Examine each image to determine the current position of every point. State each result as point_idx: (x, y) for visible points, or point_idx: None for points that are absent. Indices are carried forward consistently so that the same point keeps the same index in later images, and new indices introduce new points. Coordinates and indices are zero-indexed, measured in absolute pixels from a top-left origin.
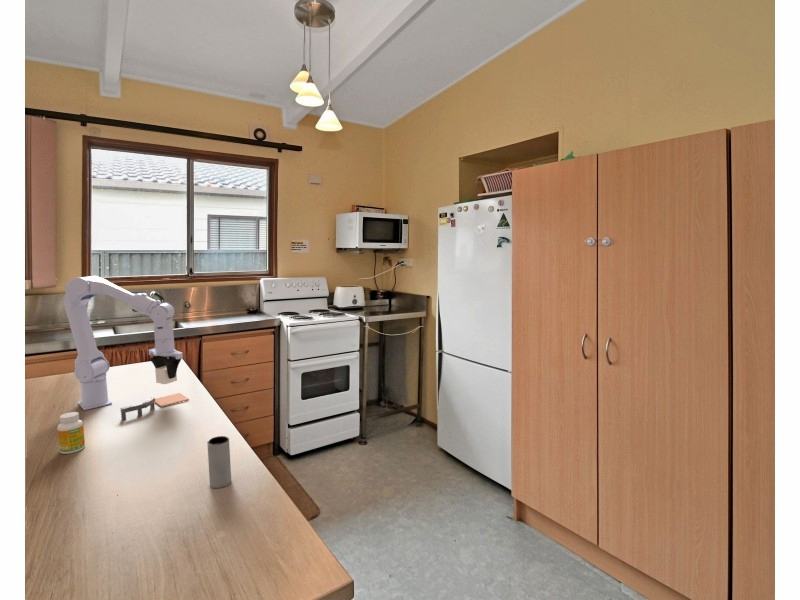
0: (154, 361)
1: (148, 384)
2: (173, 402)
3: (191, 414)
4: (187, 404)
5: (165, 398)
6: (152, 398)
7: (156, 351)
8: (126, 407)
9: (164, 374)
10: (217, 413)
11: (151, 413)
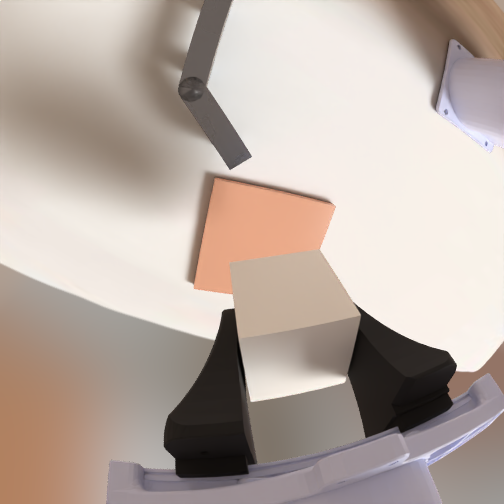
0: (396, 364)
1: (458, 283)
2: (208, 233)
3: (42, 212)
4: (154, 259)
5: (292, 241)
6: (230, 155)
7: (389, 486)
8: (215, 6)
9: (236, 309)
10: (8, 264)
11: (180, 113)
